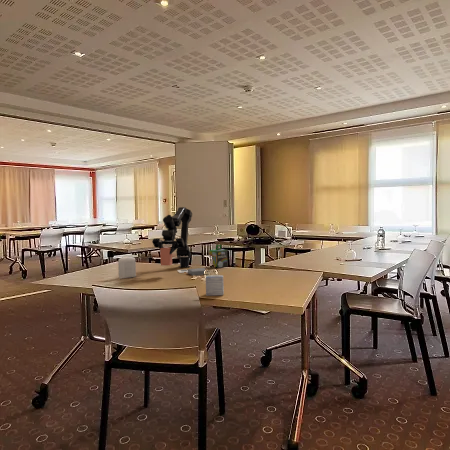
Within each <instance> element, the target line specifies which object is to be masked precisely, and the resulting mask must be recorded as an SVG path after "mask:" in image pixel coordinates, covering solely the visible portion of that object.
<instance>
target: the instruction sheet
mask: <svg viewBox="0 0 450 450" xmlns="http://www.w3.org/2000/svg"><path fill="white" fill-rule="evenodd" d="M176 271H177V272H178V273H179V274H183V273H184V272H186V273H188V270H187V269H177V270H176Z"/></svg>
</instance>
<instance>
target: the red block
mask: <svg viewBox="0 0 450 450" xmlns="http://www.w3.org/2000/svg"><path fill="white" fill-rule="evenodd" d="M170 250H171V247H164V248H159V254H160V266H171V265H173V253H172V254H170Z"/></svg>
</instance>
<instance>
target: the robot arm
mask: <svg viewBox="0 0 450 450" xmlns="http://www.w3.org/2000/svg"><path fill="white" fill-rule="evenodd" d="M192 217H193V212H192V211H191V209H189V208H187V207H185V206H182V207H181V206H180V207H178V208H177V210H176V212H175V214H173V215H171V214H167V215H166V216H164V217H163V218H162V221H163V224H164V227H165V228H166V229H163V230H161V236H162V239H161V238H153V239H152V240H151V241H152V245H153V247H154V248H157V249H160V248H165V247H164V245H165V246H167V245H169V246H170V248H171V250H170V254H172V255H173V253H174V252H175V251H176V258H177V259H179V263H180V265H178V268H182V267H185V268H191V266H190V264H189V263H190V262H189V259H192V253H191V251H190V247H189V245H188V240H189V239H188V236H189V224H190V222H191V221H192ZM180 226H181V231H180V238H178V237H177V238H176V235H177V233H178V227H179V228H180Z"/></svg>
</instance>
